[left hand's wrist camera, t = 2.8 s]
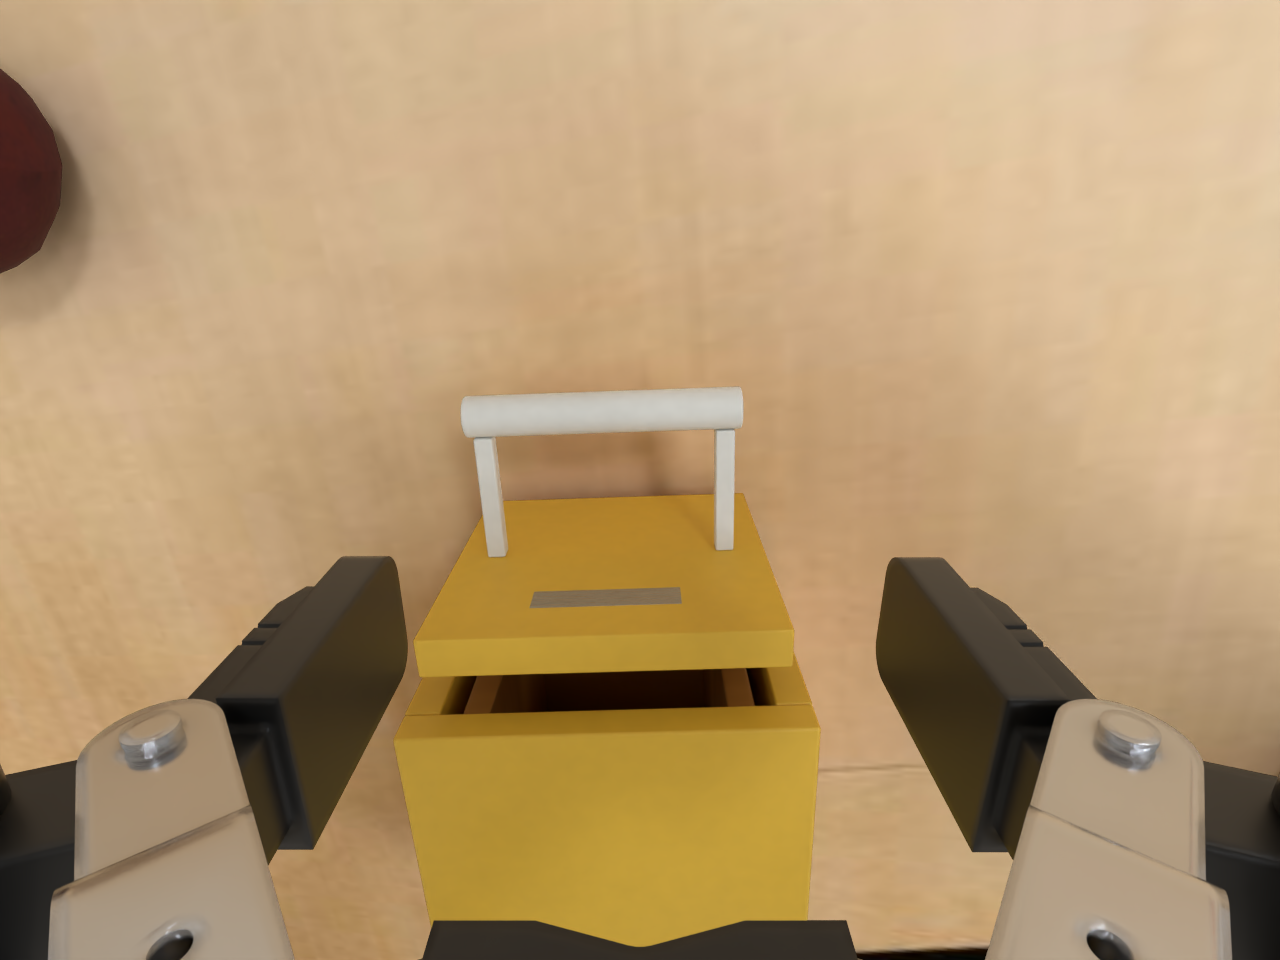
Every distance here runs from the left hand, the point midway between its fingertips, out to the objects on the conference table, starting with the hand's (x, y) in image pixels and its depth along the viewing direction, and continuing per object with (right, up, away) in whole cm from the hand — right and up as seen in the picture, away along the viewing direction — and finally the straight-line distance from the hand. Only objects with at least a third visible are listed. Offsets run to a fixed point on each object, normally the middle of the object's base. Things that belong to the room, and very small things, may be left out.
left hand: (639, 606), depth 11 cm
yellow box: (0, -9, +21) cm, 23 cm away
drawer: (-1, -4, +18) cm, 19 cm away
